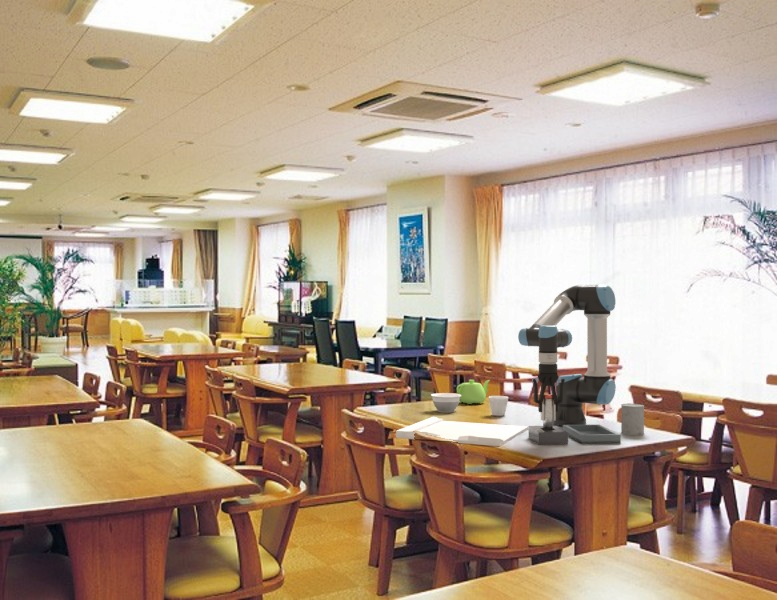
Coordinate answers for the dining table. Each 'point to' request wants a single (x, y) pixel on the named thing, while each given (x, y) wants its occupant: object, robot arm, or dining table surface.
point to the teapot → (472, 392)
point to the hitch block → (548, 435)
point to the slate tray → (592, 434)
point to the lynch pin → (548, 412)
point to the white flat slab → (463, 431)
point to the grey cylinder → (632, 419)
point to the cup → (498, 405)
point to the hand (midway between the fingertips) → (548, 419)
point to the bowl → (446, 401)
